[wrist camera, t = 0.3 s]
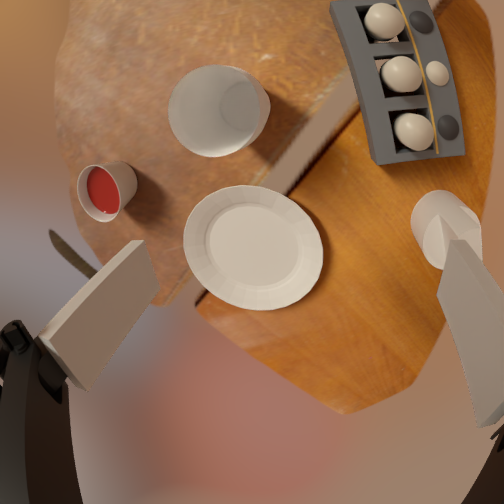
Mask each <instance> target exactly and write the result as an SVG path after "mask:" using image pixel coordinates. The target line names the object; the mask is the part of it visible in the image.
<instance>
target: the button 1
mask: <svg viewBox="0 0 504 504" xmlns="http://www.w3.org/2000/svg"><path fill="white" fill-rule="evenodd" d="M363 26H364V29H365V31H366V32H367V34H368V35H369V36H371V37H372V38H374V39H376V40H378V41H389V40H391V39H393V38H394V37H395V36H396V35H398V34H399V33H400V32H401V31H402V30H403V29H404V26H405V20H404V17H403V15H402V14H401V13H400V11H399V10H398V9H396V8H395V7H393V6H392V5H389V4H386V3H377V4H374V5H373V6H371V8H370V9H369V11H368V13H367V14H366V16H365V18H364V20H363Z"/></svg>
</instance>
